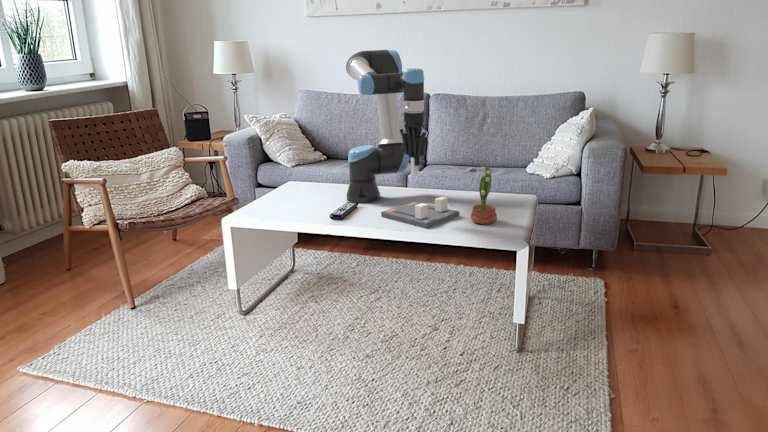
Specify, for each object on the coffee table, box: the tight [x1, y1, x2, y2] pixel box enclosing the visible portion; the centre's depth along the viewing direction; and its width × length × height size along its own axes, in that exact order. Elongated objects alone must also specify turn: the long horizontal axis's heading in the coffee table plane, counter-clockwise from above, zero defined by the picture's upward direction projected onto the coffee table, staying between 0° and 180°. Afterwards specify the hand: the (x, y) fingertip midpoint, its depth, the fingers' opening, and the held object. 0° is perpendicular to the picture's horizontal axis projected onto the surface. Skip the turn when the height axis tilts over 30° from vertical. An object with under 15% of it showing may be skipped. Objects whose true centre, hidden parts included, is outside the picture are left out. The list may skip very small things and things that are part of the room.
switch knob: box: [434, 196, 448, 212], centre depth 231 cm, size 3×4×5 cm
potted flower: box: [470, 158, 498, 225], centre depth 219 cm, size 12×10×25 cm
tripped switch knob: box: [415, 202, 429, 219], centre depth 223 cm, size 3×4×5 cm
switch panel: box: [380, 200, 460, 229], centre depth 232 cm, size 24×20×2 cm
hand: (414, 173), depth 222 cm, fingers closed
